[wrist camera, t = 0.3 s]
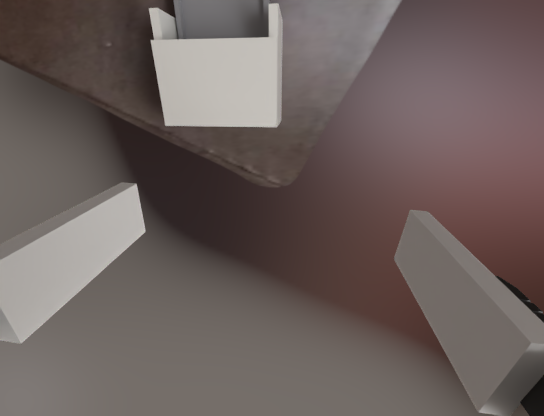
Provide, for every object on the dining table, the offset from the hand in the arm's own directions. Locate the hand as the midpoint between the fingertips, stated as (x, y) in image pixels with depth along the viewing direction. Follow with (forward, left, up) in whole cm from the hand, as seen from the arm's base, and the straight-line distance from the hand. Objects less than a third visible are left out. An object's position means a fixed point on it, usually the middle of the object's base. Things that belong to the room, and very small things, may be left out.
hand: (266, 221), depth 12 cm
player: (-8, -8, -27) cm, 30 cm away
